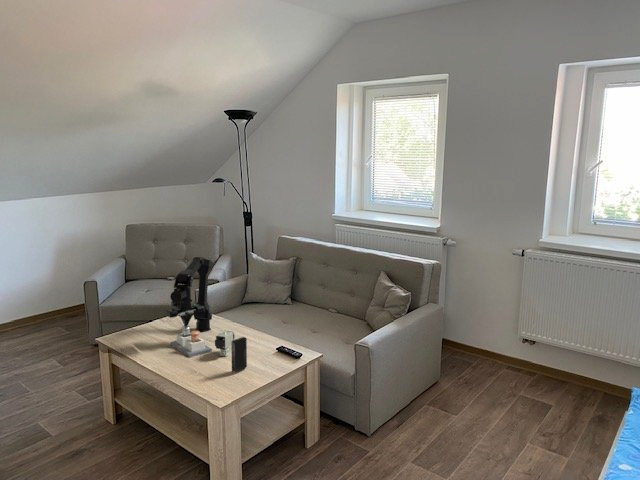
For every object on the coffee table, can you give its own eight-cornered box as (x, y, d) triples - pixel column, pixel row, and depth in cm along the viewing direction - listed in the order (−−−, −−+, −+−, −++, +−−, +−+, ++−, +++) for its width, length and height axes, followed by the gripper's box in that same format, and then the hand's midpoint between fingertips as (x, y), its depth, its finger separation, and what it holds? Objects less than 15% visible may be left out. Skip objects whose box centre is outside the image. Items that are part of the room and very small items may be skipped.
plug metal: (188, 334, 258) (188, 325, 258) (192, 336, 255) (192, 327, 254) (179, 335, 255) (179, 326, 255) (183, 338, 252) (183, 329, 251)
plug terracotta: (197, 339, 251) (196, 330, 250) (201, 341, 247) (201, 332, 247) (188, 341, 248) (188, 331, 247) (192, 343, 244) (192, 334, 244)
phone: (233, 373, 223) (232, 341, 221) (231, 372, 224) (231, 340, 221) (246, 367, 229) (246, 336, 226) (245, 367, 229) (245, 336, 227)
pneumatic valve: (235, 351, 248) (234, 328, 247) (223, 360, 237) (222, 336, 236) (225, 350, 250) (225, 327, 248) (213, 358, 239) (212, 334, 237)
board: (191, 339, 264) (191, 329, 263) (211, 351, 248) (211, 341, 247) (170, 344, 256) (170, 334, 256) (189, 357, 240) (189, 346, 239)
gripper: (194, 291, 264) (195, 319, 266) (160, 296, 252) (161, 326, 254) (204, 295, 256) (205, 324, 258) (170, 301, 244) (171, 332, 246)
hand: (185, 326), depth 254 cm, fingers closed
